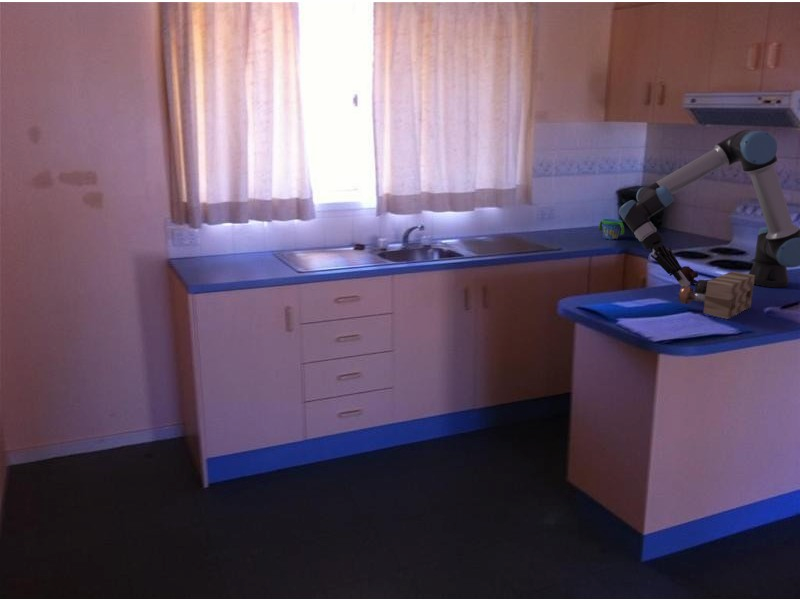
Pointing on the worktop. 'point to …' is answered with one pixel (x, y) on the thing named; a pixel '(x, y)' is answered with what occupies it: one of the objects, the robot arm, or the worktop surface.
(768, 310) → the worktop surface
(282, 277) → the worktop surface
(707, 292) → the block
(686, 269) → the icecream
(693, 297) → the terracotta knob
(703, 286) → the charcoal knob
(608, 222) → the snack cup
